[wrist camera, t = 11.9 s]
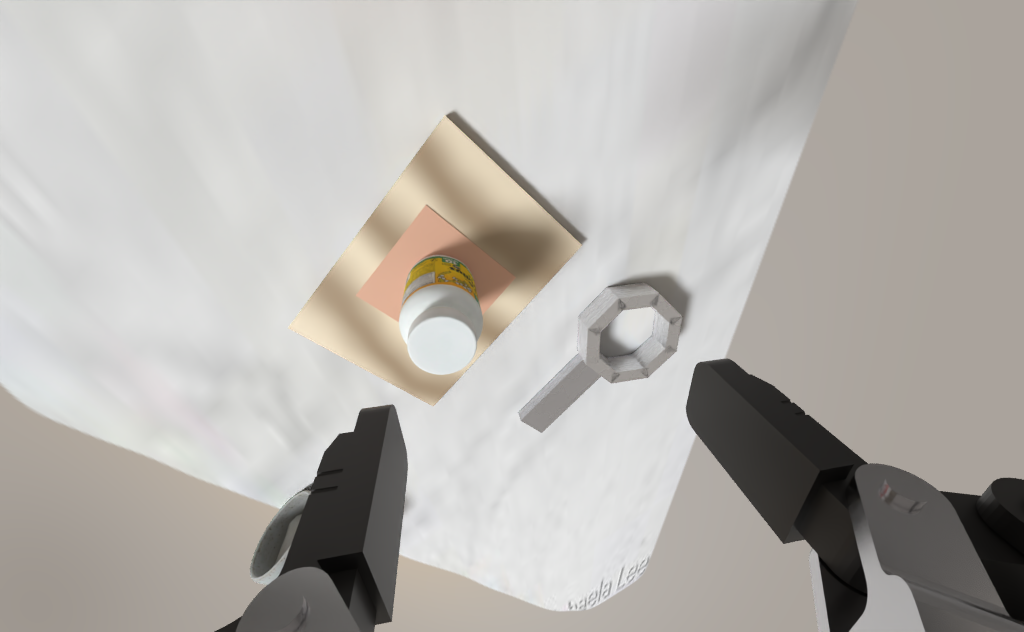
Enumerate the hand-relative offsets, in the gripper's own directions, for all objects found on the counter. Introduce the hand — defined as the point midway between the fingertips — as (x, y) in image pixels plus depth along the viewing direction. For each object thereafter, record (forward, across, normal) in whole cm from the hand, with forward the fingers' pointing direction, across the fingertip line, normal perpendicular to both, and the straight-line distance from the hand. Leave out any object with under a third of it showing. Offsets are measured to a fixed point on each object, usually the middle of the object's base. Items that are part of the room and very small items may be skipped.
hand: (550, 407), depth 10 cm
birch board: (+22, +4, +5) cm, 23 cm away
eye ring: (+22, -9, +15) cm, 28 cm away
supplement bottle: (+21, +4, +5) cm, 22 cm away
